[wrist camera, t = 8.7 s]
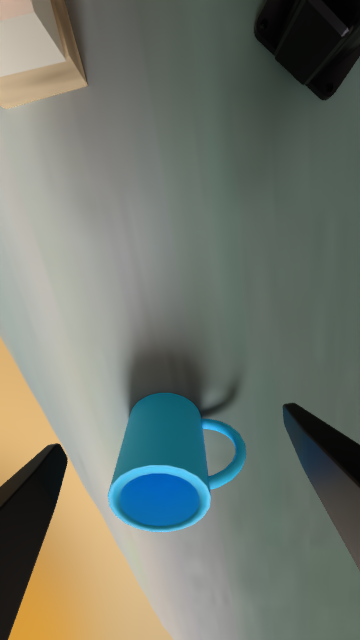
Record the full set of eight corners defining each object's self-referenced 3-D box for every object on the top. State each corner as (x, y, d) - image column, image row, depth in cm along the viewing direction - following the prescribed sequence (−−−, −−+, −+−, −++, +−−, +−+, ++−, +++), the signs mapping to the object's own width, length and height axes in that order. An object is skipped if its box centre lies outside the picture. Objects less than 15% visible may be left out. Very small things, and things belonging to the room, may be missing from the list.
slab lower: (-38, -10, 14) (-94, -72, 11) (54, -41, 13) (21, -113, 11) (7, 110, 16) (-29, 84, 13) (89, 88, 16) (69, 55, 13)
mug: (137, 451, 27) (121, 536, 20) (121, 396, 24) (95, 470, 17) (237, 441, 27) (260, 523, 19) (233, 383, 24) (258, 454, 16)
